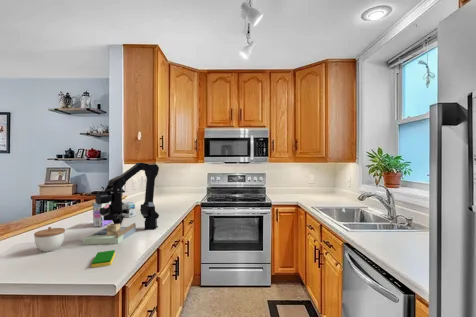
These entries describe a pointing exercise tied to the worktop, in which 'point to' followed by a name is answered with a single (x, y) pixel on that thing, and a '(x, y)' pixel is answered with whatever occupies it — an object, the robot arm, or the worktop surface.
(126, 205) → the light bulb box
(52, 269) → the worktop surface
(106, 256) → the dish sponge
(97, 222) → the candy box
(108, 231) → the oak block
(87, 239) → the board
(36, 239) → the lidded bowl
